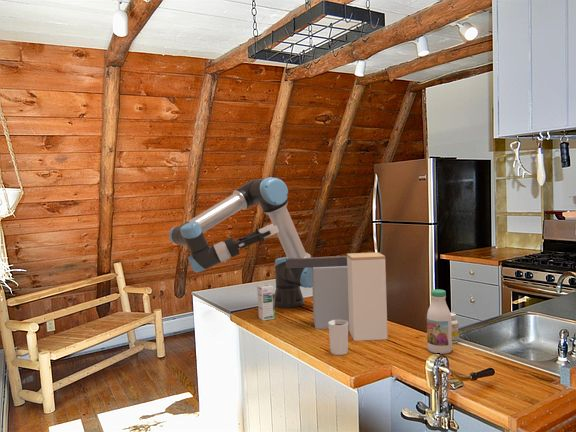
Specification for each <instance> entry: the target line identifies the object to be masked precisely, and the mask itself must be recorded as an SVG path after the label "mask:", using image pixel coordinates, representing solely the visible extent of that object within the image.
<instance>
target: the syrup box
mask: <svg viewBox="0 0 576 432" xmlns="http://www.w3.org/2000/svg"><path fill="white" fill-rule="evenodd" d="M256 287H257V307H258V309H257V310H258V319H260V320H261V321H263V322H264V321H271V320H275V319H276V306H275V298H274V294H275V286H274V285H273V284H270V283H268V284H261V285H257V286H256Z"/></svg>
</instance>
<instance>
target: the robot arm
mask: <svg viewBox="0 0 576 432" xmlns="http://www.w3.org/2000/svg"><path fill="white" fill-rule="evenodd" d="M288 195H289V189H288V187H287V184H286V183H285V182H284V181H283V180H282V179H280V178H278V177H264V178H255V179H252V180H250V181H248V182H246V183H245V184H243V185H241V186H239V187H238V188H237V189H235V190H234V191H233V192H232V194H231V195H229V196H227V197H226V198H225V199H223V200H221V201H220V202H217V203H216V204H214V205H213V206H211V207H209V208H208V209H205V211H204V210H203V211H202V212H201V213H200V214H198V215H196V216H195V217H193V218H191V219H189V220H188V221H186V222H184V223H182V224H181V225H177V226H174V227H172V228H171V229H170V230H169V232H168V237H169V240H170V242H172V243H173V244H175V245H178V246H186V247H187V248H188V249H189V252H190V255H189V256H188V257H187V259H188V260H187V261H188V263H189V265H190V268H191V269H192V271H193V272H194V273H201V272H203V271H206V270H208V269H211V268H212V267H214V266H217V265H218V264H221V263H222V262H224V263H226V262H227V260H230V259H231V258H234V257H236V256H238V255H240V254H241V252H240V250H239V249H244V248H246V247H249V246H250V245H253V244H256V243H258V242H260V241H262V242H264V241H265V239H266V238H269V237H271V236H273V235H275V234H276V236H277V238H278V240H279V242H280V245H281V246H282V249H283V250H284V253H285V255H286V257H285V256H284V257H278V258H276V259H275V261H274V269H275V270H274V271H275V272H274V273H275V274H274V275H275V290H274V298H275V308H287V309H288V308H290V309H291V308H296V307H301V306H303V305H304V304H305V299H304V298H305V297H304V296H303V293H302V290H301V288H304V289H305V288H307V289H308V288H309V289H311V288H312V268H288V269H286V259H287V258H311V257H312V256H311V254H310V253H308V252H306V250H305V247H304V246H303V243H302V241H301V239H300V236H299V234H298V232H297V229H296V227H295V224H294V222H293V219H292V217H291V215H290V212H289V211H288V208H287V206H288V203H289V201H288V197H289V196H288ZM252 206H260V208H261V210H262V212H263V213H264V214H266V215H267V216H268V217H269V219H270V222H271V223H270V224H268V225H266V226H264V227H262V228H255V230H254V231H252V232H251V233H248V234H246V235H244V236H241V237H239V238H238V239H236V240H237V241H235V239H234V237H233V236H231V237H229V238H227V239H224V241H219V242H217V243H215V244H213V245H211V246H210V245H209V243H208V241H207V238H206V236H205V235H204V233H205V232H207V231H208V230H210V229H212V228H213V227H215V226H216V225H218V224H220V223H222V222H223V221H224V220H226V219H228V218H230V217H231V216H233V215H234V214H236V213H238V212H239V211H241V210H243V211H244V210H247V209H248V208H250V207H252ZM312 289H313V288H312Z"/></svg>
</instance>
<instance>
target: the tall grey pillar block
mask: <svg viewBox="0 0 576 432" xmlns="http://www.w3.org/2000/svg"><path fill="white" fill-rule="evenodd" d="M312 310H313V315H312V316H313V324H314V328H315V330H326V329H328V330H329V324H328V322H329V321H332V320H345V321H348V329H349V305H348V274H347V266H336V267H312Z"/></svg>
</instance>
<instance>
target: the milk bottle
mask: <svg viewBox="0 0 576 432" xmlns="http://www.w3.org/2000/svg"><path fill="white" fill-rule="evenodd" d="M430 295H431V302H430V305H429V307H428V309H427V314H426V334H427V335H426V340H427V341H426V342H427V350H428V352H430V353H433V354H437V353H440V355H445V354H450V353H452V350H453V343H452V324H451V314H450V313H451V311H450V309H449V307H448V304H447V301H446V297H447V291H446V290H444V289H439V288H437V289H432V290H431V291H430Z"/></svg>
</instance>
